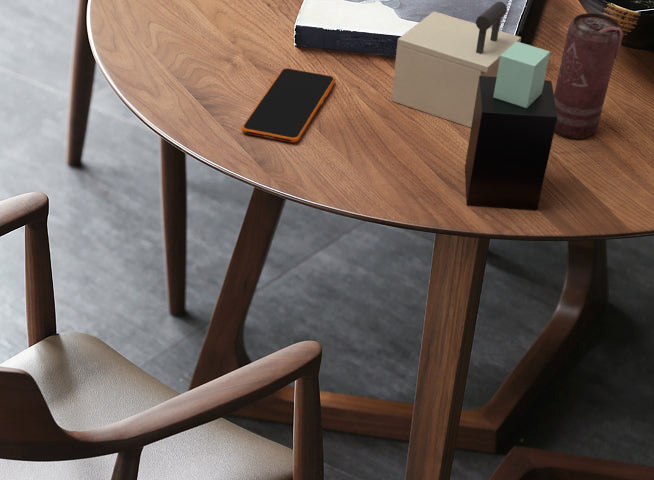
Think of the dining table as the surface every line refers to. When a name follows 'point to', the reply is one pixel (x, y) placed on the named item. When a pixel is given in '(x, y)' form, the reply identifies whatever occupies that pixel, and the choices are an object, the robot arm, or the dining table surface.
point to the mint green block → (521, 74)
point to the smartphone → (289, 105)
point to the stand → (508, 149)
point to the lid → (462, 38)
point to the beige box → (436, 85)
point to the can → (585, 73)
